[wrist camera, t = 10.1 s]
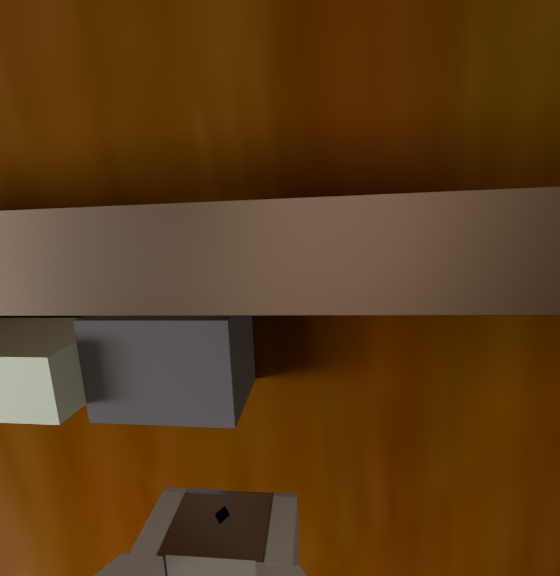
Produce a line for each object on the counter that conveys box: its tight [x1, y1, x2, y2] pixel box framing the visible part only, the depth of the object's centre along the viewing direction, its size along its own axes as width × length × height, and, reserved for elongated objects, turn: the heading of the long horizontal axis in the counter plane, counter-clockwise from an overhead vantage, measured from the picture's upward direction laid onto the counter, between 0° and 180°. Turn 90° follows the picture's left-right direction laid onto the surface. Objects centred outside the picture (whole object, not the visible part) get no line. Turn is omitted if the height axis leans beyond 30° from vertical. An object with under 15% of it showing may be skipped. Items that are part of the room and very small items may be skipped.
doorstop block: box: [73, 315, 255, 428], centre depth 18 cm, size 7×5×5 cm
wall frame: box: [0, 187, 560, 316], centre depth 13 cm, size 32×2×12 cm, turn 92°
